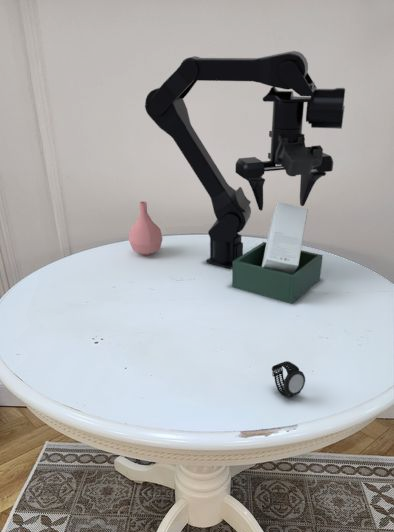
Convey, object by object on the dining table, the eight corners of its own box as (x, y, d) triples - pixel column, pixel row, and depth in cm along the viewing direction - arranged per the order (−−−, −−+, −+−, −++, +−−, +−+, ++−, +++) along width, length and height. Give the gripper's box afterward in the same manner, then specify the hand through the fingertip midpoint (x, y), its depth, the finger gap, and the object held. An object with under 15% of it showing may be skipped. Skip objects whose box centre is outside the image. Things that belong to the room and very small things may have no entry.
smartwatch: (279, 405, 76) (281, 376, 73) (268, 384, 80) (270, 356, 77) (307, 401, 76) (310, 372, 74) (295, 380, 81) (298, 353, 78)
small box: (298, 266, 100) (308, 207, 104) (265, 259, 100) (276, 200, 104) (289, 284, 107) (299, 229, 111) (259, 278, 108) (269, 223, 112)
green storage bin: (231, 286, 108) (232, 261, 105) (262, 265, 117) (263, 241, 114) (292, 303, 102) (294, 276, 99) (319, 280, 110) (322, 255, 107)
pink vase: (154, 244, 129) (151, 195, 122) (169, 255, 123) (166, 203, 117) (124, 251, 126) (120, 201, 119) (138, 262, 120) (134, 210, 114)
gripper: (256, 138, 93) (252, 225, 101) (352, 131, 97) (341, 215, 105) (235, 127, 102) (233, 208, 110) (324, 121, 106) (316, 199, 114)
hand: (281, 207), depth 110 cm, fingers open, 9 cm apart
